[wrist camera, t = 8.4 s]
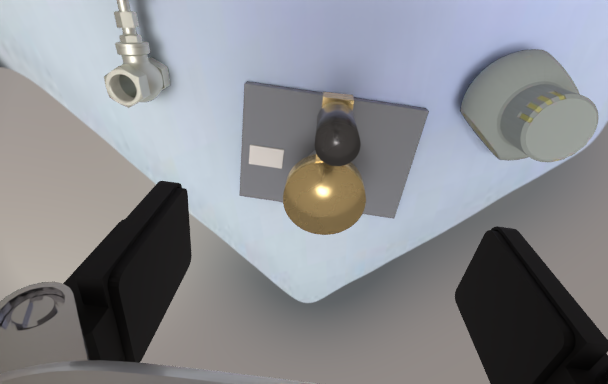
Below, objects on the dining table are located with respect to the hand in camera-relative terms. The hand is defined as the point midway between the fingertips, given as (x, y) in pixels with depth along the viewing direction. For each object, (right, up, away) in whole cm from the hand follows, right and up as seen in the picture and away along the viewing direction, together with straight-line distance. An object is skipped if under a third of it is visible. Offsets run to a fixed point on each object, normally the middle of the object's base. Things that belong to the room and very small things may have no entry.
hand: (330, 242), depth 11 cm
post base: (+2, +6, +30) cm, 30 cm away
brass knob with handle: (+2, +4, +22) cm, 23 cm away
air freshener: (+21, +12, +26) cm, 35 cm away
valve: (-17, +18, +25) cm, 35 cm away
